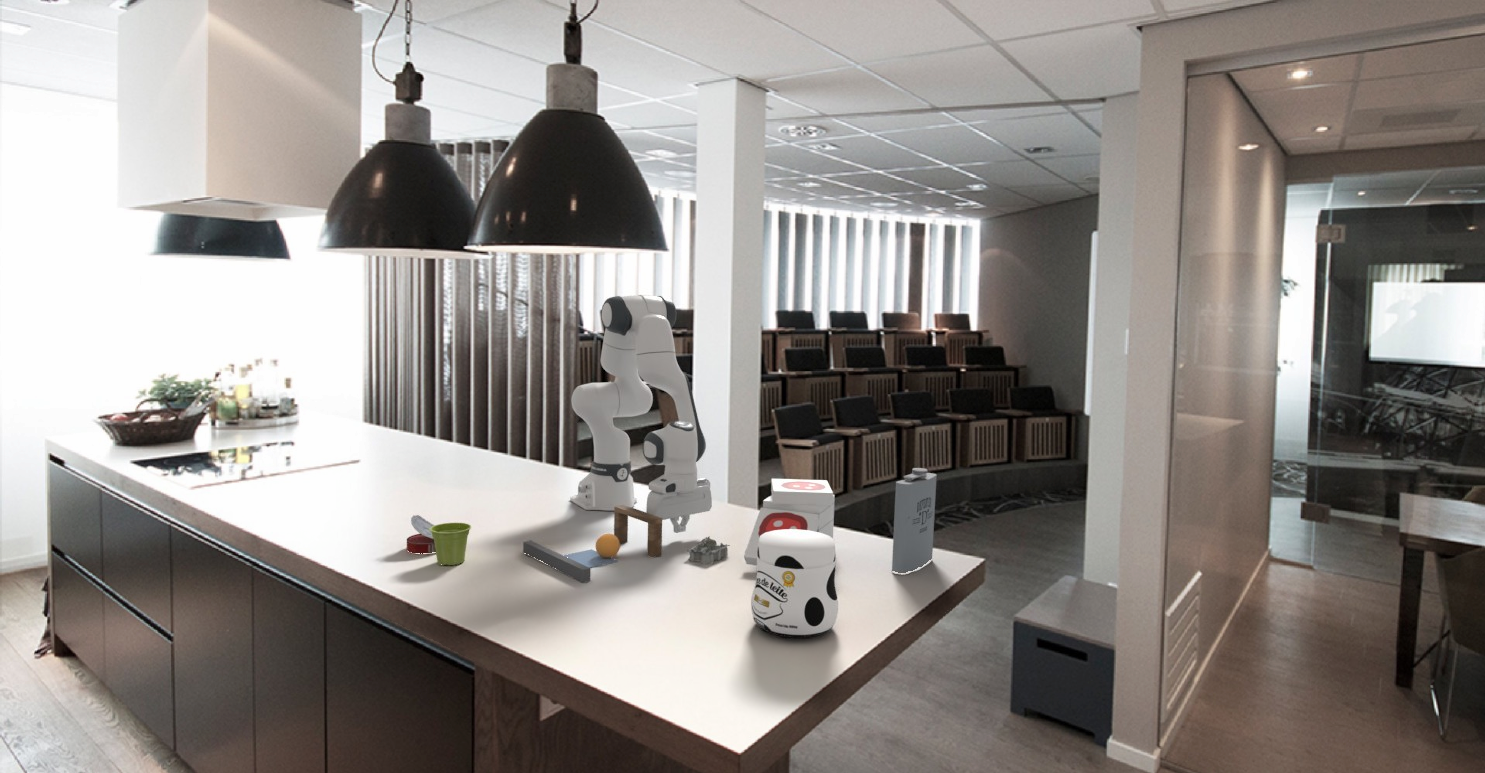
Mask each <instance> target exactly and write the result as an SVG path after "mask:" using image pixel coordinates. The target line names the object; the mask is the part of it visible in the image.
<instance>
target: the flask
mask: <svg viewBox="0 0 1485 773" xmlns="http://www.w3.org/2000/svg"><path fill="white" fill-rule="evenodd" d="M911 471H912V472H911V473H910V474H907V475H903V478H904V479H902V480H898V481H895V494H894V496H895V498H894V519H893V539H892V560H891V561H892V562H891V572H892V571H895V572H898V573H906V572H908V571H913V570H915V569H917V568H918V567H922V566H923V565H924V564H926V563H927V562H928V561H929V560H931V559H932V560H933V549H934V548H933V546H934V533H935V531H934V528H935V527H934V526H935V511H936V510H935V507H936V495H937V494H936V493H937V491H936V490H937V475H938V474H936V473H934V472H932V473H931V472H928V469H927V468H923V467H922V468H921V467H913V468H912V470H911Z"/></svg>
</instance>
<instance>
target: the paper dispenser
mask: <svg viewBox="0 0 1485 773" xmlns="http://www.w3.org/2000/svg"><path fill="white" fill-rule="evenodd" d="M770 486H771V487H770V491H771V495H770V496H768V497H766V498H765V499H763V500H762V507H760V509H759V511H758V515H757V518H756V521H755V523H754V526H753V530H752V531H751V535H750V537H749V541H748V544H747V546H746V550H745V552H744V555H743V559H744V561H745V564H746V565H750V566H751V565H752V566H757V557H758V554H757V551H758V543H759V538H760V536H761V535H762V534H764V533H766V532H770V531H774V530H783V529H799V530H809V531H814V532H819V533H823V534H825V535H828V536H830V537H831V538H833V539H834V519H835V518H834V517H835V500H836V498H835V496H836V495H835V494H834V491H833V490H832V488H831V486H830V484H829V482H828V480H826V479H825V480H824V479H796V478H795V479H794V478H771V484H770Z"/></svg>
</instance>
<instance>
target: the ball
mask: <svg viewBox="0 0 1485 773" xmlns="http://www.w3.org/2000/svg"><path fill="white" fill-rule="evenodd" d="M620 548H621V543H620V542H619V540H618V538H617V537H616V536H615V535H614V533H613V534H612V533H603V534H602V535H600V536H599V537H598V538H597V540H596V542H595V551H597V553H598V554H599V555H600V556H602V557H604V558H613V557H615V556H616V555H617V554H618V553H619V550H620Z"/></svg>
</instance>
